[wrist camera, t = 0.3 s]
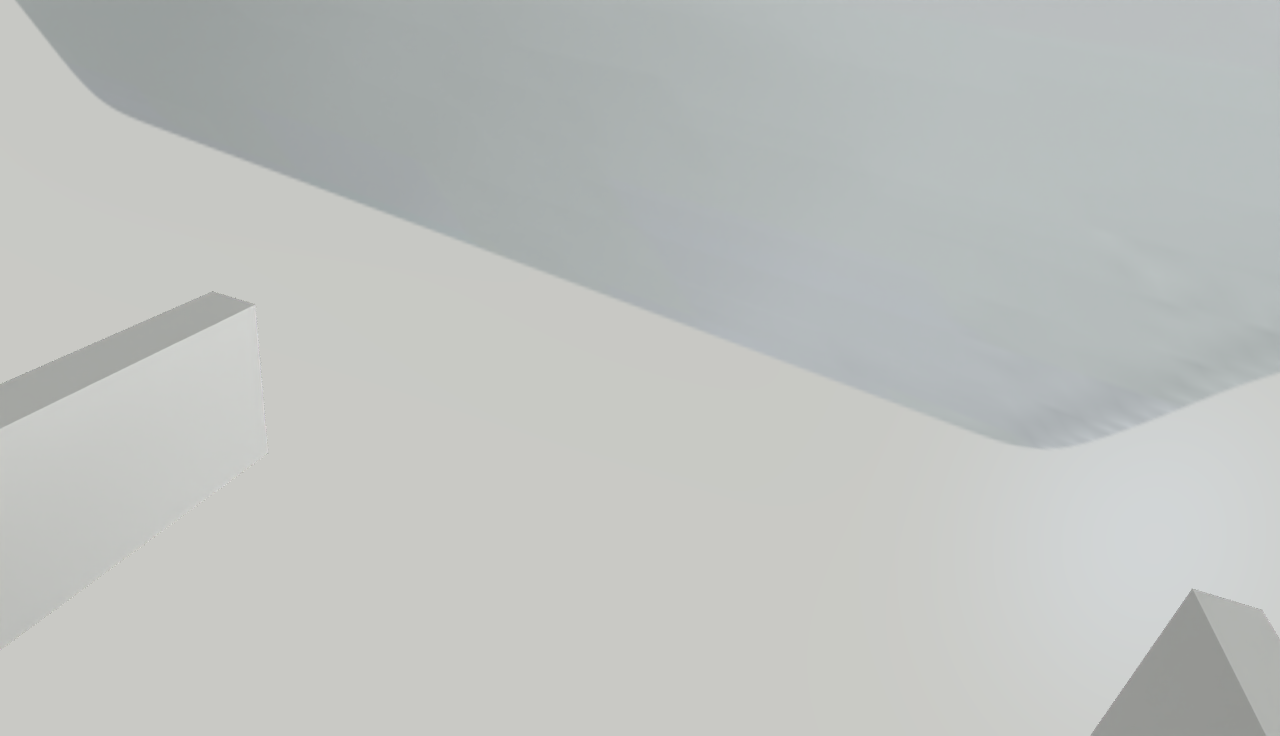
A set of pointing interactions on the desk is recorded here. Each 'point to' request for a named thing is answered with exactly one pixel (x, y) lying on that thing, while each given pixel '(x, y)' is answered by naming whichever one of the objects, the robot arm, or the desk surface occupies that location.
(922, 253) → the desk surface
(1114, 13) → the desk surface
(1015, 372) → the desk surface
